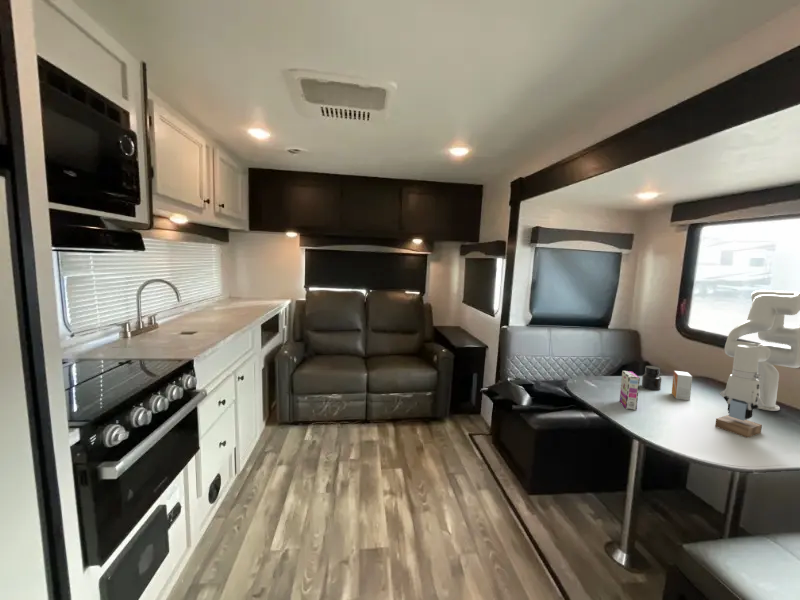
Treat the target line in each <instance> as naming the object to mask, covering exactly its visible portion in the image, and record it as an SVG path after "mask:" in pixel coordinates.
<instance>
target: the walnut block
mask: <svg viewBox="0 0 800 600" xmlns="http://www.w3.org/2000/svg"><path fill="white" fill-rule="evenodd" d="M714 427H715V428H718V429H721V430H723V431H724V430H725V431H727V432H729V433H732V434H735V435H738V436H741V437H744V438H746V439H747V438H751V437H754V436H757V435H759V434H761V433H762V427H763V425H762V424H761V423H758V422H755V421H751V420H749V419H747V420H744V421H743V420H740V419H737V418H733V417H730V416H729V414H727V415H724V416H720V417H717V418H715V425H714Z"/></svg>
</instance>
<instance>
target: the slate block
mask: <svg viewBox="0 0 800 600" xmlns="http://www.w3.org/2000/svg"><path fill="white" fill-rule="evenodd" d="M747 408H748V407H747V403H746V402H743V401H740V400H736V399H734V400H731V401H730V409H729V411H728V412H729V413H728V415H729V416H730V417H733V418H737V419H740V420H743V421H744V420H748V419H746V418H745V415H746V409H747Z"/></svg>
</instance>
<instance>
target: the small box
mask: <svg viewBox="0 0 800 600" xmlns="http://www.w3.org/2000/svg"><path fill="white" fill-rule="evenodd" d="M692 383H693V375H691V374H690V373H689V372H688V371H682V370H681V371H679V370H673V376H672V383H671V384H672V385H671V395H672V396H673V397H674V398H675V399H677V400H685V401H691V394H692V393H691V391H692Z"/></svg>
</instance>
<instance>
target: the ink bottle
mask: <svg viewBox="0 0 800 600" xmlns="http://www.w3.org/2000/svg"><path fill="white" fill-rule="evenodd" d="M644 369H645V370H644V374H642V378H641V379H642V380H641V387H642V388H644V389H646V390H651V391H660V390H661V389H662V377H661V376H660V372H661V368H660V367H658V366H653V365H645V367H644Z"/></svg>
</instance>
